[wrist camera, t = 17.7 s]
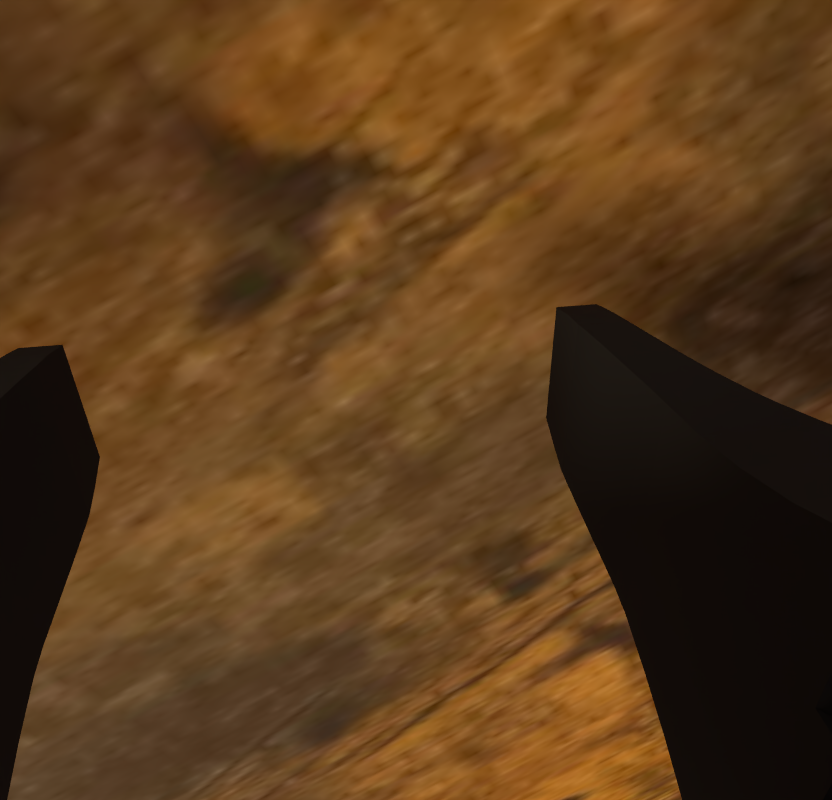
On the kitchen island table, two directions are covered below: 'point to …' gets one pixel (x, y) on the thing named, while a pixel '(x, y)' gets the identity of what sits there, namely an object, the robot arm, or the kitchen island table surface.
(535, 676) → the kitchen island table surface
